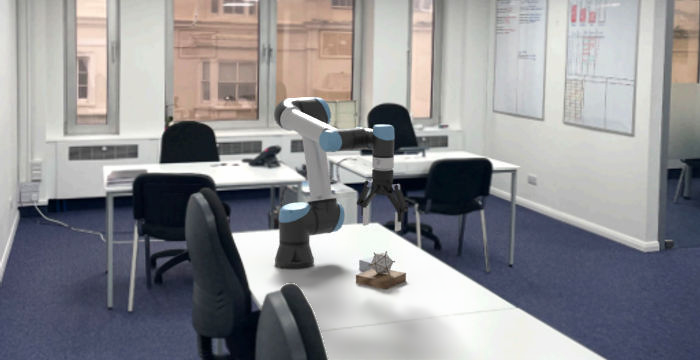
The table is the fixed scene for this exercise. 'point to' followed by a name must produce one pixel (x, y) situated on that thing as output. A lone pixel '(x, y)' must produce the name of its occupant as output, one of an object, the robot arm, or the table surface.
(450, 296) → the table surface
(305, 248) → the robot arm
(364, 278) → the plinth
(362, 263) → the card box
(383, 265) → the game die
